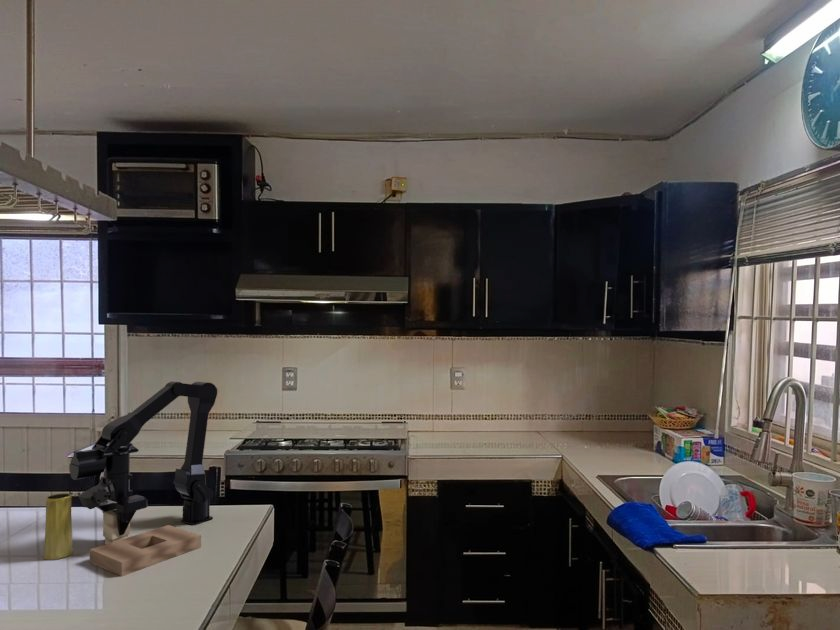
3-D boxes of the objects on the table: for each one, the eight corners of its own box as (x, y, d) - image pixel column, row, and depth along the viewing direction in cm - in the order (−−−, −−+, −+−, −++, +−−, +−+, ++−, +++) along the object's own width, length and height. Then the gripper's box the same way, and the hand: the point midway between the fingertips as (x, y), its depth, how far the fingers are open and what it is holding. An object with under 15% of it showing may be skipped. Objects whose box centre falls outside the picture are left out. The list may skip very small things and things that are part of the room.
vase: (62, 560, 134) (63, 499, 134) (37, 560, 134) (37, 499, 134) (78, 550, 140) (79, 492, 140) (53, 550, 140) (54, 492, 140)
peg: (120, 538, 148) (120, 507, 148) (129, 542, 145) (130, 510, 145) (102, 544, 144) (103, 512, 144) (112, 547, 141) (112, 515, 142)
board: (168, 536, 149) (168, 524, 149) (200, 547, 141) (201, 535, 141) (89, 562, 132) (89, 549, 132) (121, 576, 124) (121, 562, 125)
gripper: (66, 473, 143) (65, 535, 143) (104, 484, 133) (103, 550, 133) (110, 465, 153) (109, 523, 152) (149, 474, 142) (148, 536, 142)
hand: (116, 533), depth 144 cm, fingers closed on peg, 4 cm apart
